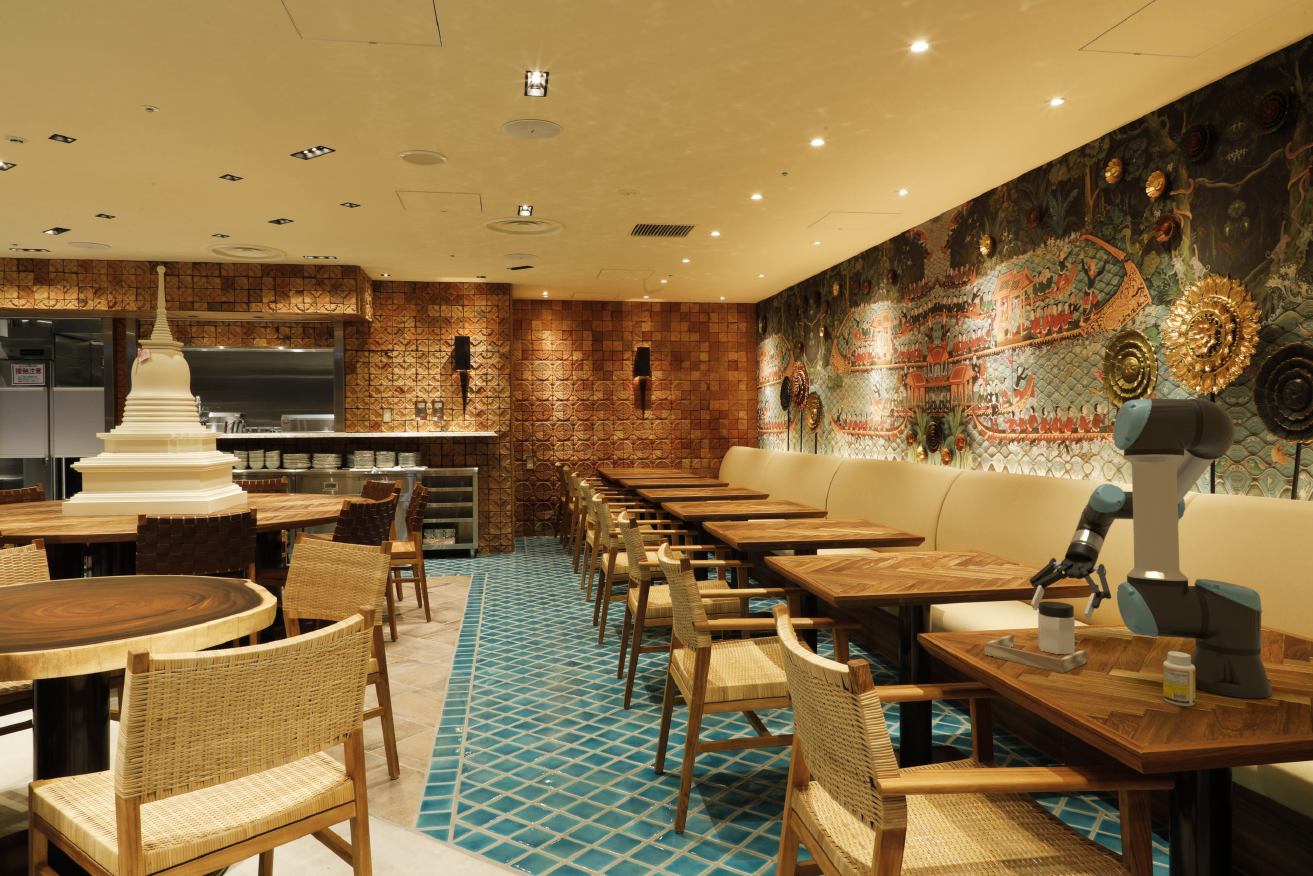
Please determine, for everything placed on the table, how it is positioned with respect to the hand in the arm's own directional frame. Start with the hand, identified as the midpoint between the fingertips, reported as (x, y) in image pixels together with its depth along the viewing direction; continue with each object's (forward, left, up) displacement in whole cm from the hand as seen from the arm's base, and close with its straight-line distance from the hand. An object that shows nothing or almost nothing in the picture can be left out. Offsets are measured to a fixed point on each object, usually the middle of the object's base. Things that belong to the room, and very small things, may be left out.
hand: (1059, 612), depth 198 cm
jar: (-3, +3, -10) cm, 10 cm away
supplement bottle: (-42, +4, -10) cm, 43 cm away
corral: (-9, +14, -9) cm, 19 cm away
